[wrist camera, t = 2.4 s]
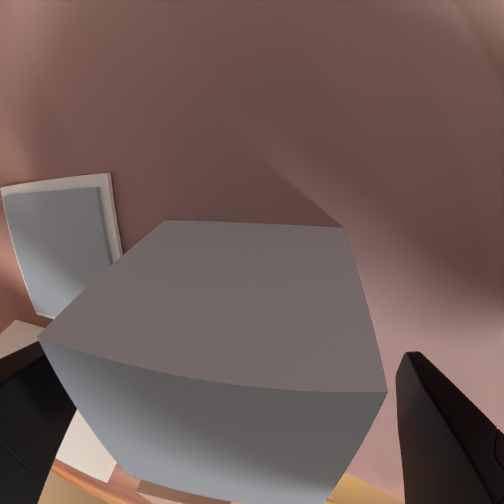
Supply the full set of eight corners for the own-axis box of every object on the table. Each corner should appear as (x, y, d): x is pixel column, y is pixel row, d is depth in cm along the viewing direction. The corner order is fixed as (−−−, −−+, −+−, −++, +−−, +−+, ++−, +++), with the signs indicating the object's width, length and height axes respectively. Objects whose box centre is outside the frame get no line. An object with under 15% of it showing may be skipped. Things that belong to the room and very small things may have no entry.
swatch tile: (110, 172, 9) (103, 175, 9) (143, 337, 12) (139, 343, 11) (3, 186, 10) (-3, 189, 10) (38, 312, 13) (34, 316, 12)
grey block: (343, 227, 9) (388, 391, 3) (322, 362, 11) (320, 508, 6) (165, 219, 9) (36, 336, 4) (185, 348, 12) (126, 473, 6)
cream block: (96, 338, 13) (41, 411, 8) (137, 420, 16) (107, 482, 11) (17, 318, 14) (-31, 366, 10) (60, 394, 17) (27, 441, 12)
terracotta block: (248, 425, 14) (229, 510, 9) (270, 464, 15) (258, 531, 11) (166, 421, 15) (136, 491, 10) (199, 460, 17) (179, 520, 12)
